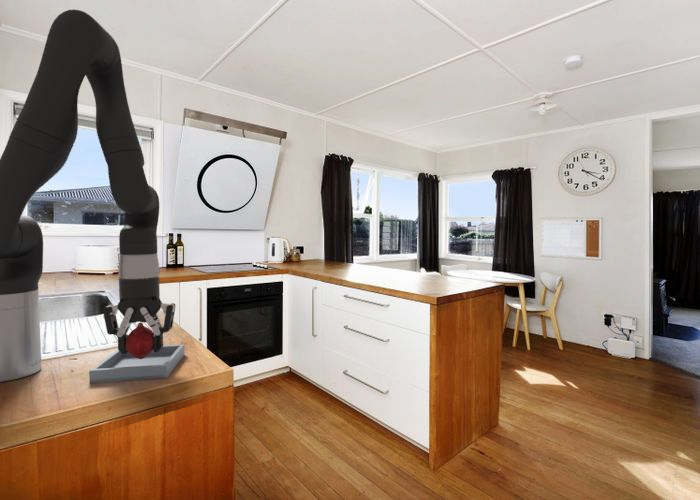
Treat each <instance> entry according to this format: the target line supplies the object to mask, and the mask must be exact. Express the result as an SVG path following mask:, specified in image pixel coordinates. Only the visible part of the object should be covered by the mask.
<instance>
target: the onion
mask: <svg viewBox="0 0 700 500" xmlns="http://www.w3.org/2000/svg"><path fill="white" fill-rule="evenodd" d="M127 335H128V337H127V339H126V343H125V347H126V350H127V351H128V352H129V353H130V354H131V355H132V356H134V357H136V358H138V359H143V358H145V357H146V356H147V355H148V354H149V353H150V352H151V351H152V350H153V349H154V340H153V336H154V335H155V334H154V332H153V330H152V329H151V328H149V327H146V326H144V322H137V326H136V328H134V329H133V330H131V331H130V332H129V333H128V334H127Z"/></svg>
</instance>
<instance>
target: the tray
mask: <svg viewBox="0 0 700 500" xmlns="http://www.w3.org/2000/svg"><path fill="white" fill-rule="evenodd" d="M184 357H185V344H171V345H170V344H168V345H167V344H166V345H163V347H162V348H161V349H160V351H159V352H154V349H153V350H152V351H151V352H150V353H149V354H148V355H147V356H146V357H145V358H143V359H138V358H136V357H134V356H132V355H131V354H130V353H129V352H127V353H126V354H121V351H119V350H118V349H117V350H115V351H114V352H113V353H111V354H110V355H109V356H107V357H106V358H105V359H103V360H102V361H100V362H99V363H98V364H96V365H95V366H94V367H92V368H91V369H90V370H89V372H88V374H89V376H88V379H89V380H88V381H89V384H98V383H114V382H128V381H141V380H143V381H144V380H157V379H159V380H160V379H168V377H169V376H170V375H171V373H172V372H173V370H174V369H175V368H176V367H177V365H178V364H179V363H180V362H181V360H182V359H183V358H184Z"/></svg>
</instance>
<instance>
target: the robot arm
mask: <svg viewBox="0 0 700 500" xmlns="http://www.w3.org/2000/svg"><path fill="white" fill-rule="evenodd" d="M85 77H86V79H87V81H88V83H89V85H90V87H91V90H92V93H93V97H94V102H95V103H94V104H95V128H96V134H97V135H96V136H97V139H98V141H99V144H100V148H101V150H102V154H103V157H104V160H105V162H106V165H107V174H108V175H107V176H108V180H109V187H110V192H111V195H112V198H113V201H114V204H115V205H116V207H118V208H119V209H120V210H121V211H122V212H124V225H123V227H122V228H121V229H120V231H119V235H118V240H119V244H118V245H119V249H118V250H119V259H118V292H119V293H118V296H119V302H118V303H117V304H109V305H107V306H104V307H103V308H102V314H103V319H104V322H105V327H106V328H105V329H106V333H107V334H108V335H110V336H111V335H114V336H116V337H117V350H119V351H121V354H126V353H127V352H128V351H127V350H126V347H125V343H126V339H127V337H128V335H129V334H128V332H129V329H130V328H131V325H132V324H135V323H140V322H141V323H147V326H149V327H150V329H151V330H152V331H153V333H154V334H155V335H154V336H153V340H154V352H159V351H160V349H161V348H162V347H163V346H164V334H165V333H168V332H169V331H170V330H172V329H173V326H174V320H175V313H176V312H175V311H176V304H175V303H174V302H172V303H163V302H162V300H161V298H160V294H161V293H160V271H161V270H160V263H159V262H160V261H159V256H158V235H157V230H158V224H159V215H160V199H159V194H158V192H157V191H156V189H154V187H152V186H151V185H149V183H148V181H147V176H146V173H145V169H144V166H145V158H144V154H143V150H142V147H141V144H140V141H139V138H138V134H137V130H136V128H135V124H134V121H133V119H132V115H131V111H130V107H129V102H128V99H127V97H128V96H127V91H126V87H125V80H124V72H123V64H122V57H121V53H120V48H119V46H118V43H117V42H116V40H115V39H114V37H113V36H112V35H111V34H110V33H109V32H108V31H107V30H106V29H105V28H104V27H103V26H102V25H101V24H100V23H99V22H98V20H96V19H95V18H94V17H92V16H91V15H90V14H88V13H87V12H85V11H83V10H79V9H68V10H67V9H66V10H65V11H63V12H61V13H60V14H59V15H57V16H56V17H55V19H54V20H53V22H52V24H51V26H50V28H49V31H48V34H47V36H46V41H45V45H44V49H43V52H42V55H41V59H40V63H39V66H38V69H37V72H36V75H35V77H34V78H33V79H34V80H33V83H32V85H31V87H30V89H29V92H28V94H27V97H26V99H25V101H24V104H23V105H22V108H21V111H20V112H19V114H18V116H17V119H16V121H15V122H14V124H13V127H12V130H11V132H10V135H9V137H8V139H7V142H6V145H5V147H4V150H3V152H2V155H1V156H0V383H1V382H7V381H13V380H18V379H21V378H25V377H29V376H31V375H34V374H35V373H38V372H39V371H41V370H42V361H43V360H42V347H41V346H42V342H41V320H40V297H39V296H40V295H39V293H40V292H39V281H40V279H41V277H42V274H43V270H44V267H43V265H44V261H43V260H44V236H43V232H42V229H41V226H40V225H39V223H38V222H37V220H36V219H34V218H32V217H31V216H29V215H26V214H23V212H24V211H25V208H26V206H27V204H28V203H29V201H30V200H31V199H32V197H33V196H34V194H35V193H36V192H37V191H39V189H41V188H42V187H43V186H44V185H45V184H47V183H48V182H49V181H50V180H51V179H52V178H53V177H54V176H55V175H57V174H58V173H59V172H60V171H61V170H62V168H63V167H64V166H65V164H66V162H67V161H68V159H69V156H70V154H71V152H72V149H73V148H74V144H75V143H76V140H77V136H78V127H79V112H78V111H79V110H78V109H79V108H78V104H79V103H78V100H79V92H80V89H81V85H82V84H83V81H84V79H85ZM161 309H162V313H163V314H164V315H165V316H164V322H163V325H162V323H161V319H160V317H159V316H158V312H159V311H160V310H161ZM118 311H119V313H120V314H122V316H123V318H122V321H121V322H120V324H118V319H117V314H118Z"/></svg>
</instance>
